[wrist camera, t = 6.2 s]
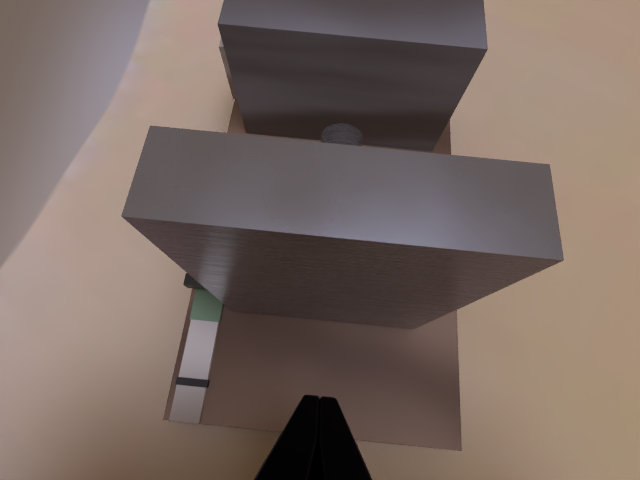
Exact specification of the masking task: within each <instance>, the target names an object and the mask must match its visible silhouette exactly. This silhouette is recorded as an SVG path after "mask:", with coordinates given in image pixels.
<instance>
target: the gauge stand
mask: <svg viewBox="0 0 640 480" xmlns="http://www.w3.org/2000/svg"><path fill="white" fill-rule="evenodd" d="M218 27H219V30H220V34H221V41H220V45H219V49H220V52H221V56H222V60H223V63H224V67H225V71H226V74H227V78H228V82H229V85H230V89H231V93H232V96H233V99H235V101H234V106H233V110H232V115H231V119H230V123H229V128H228V132H227V133H231V134H241V135H251V136H262V137H272V138H282V139H292V140H303V141H313V142H321V134H322V131H323V130H324V129H325V128H326V127H327V126H329V125H332V124H337V123H344V124H349V125H352V126H354V127H356V128H357V129H359V130H360V132H361V133H362V146H364V147H375V148H385V149H395V150H406V151H416V152H426V153H436V154H447V155H451V143H450V118H451V116H452V114H453V112H454V110H455V109H456V107H457V105H458V103H459V101H460V99H461V98H462V96H463V94H464V92H465V90H466V88H467V86H468V85H469V83H470V81H471V79H472V77H473V75H474V74H475V72H476V70H477V68H478V66H479V64H480V62H481V61H482V59H483V57H484V55H485V53H486V51H487V50H488V47H487V35H486V24H485V13H484V2H483V0H224V2H223V6H222V10H221V13H220V17H219V21H218ZM304 395H317V396H319V398H321V397H322V396H326V397H334V398H336V399H337V401H338V403H339V405H340V408H341V410H342V412H343V414H344V417H345V419H346V421H347V424H348V426H349V428H350V430H351V433H352V435H353V437H354V439H355V440H362V441H372V442H381V443H391V444H400V445H410V446H420V447H429V448H439V449H448V450H458V451H462V446H461V419H460V391H459V363H458V336H457V310H455V311H453V312H451V313H449V314H446V315H444V316H442V317H440V318H438V319H436V320H433V321H431V322H429V323H427V324H425V325H423V326H420V327H418V328H416V329H406V328H396V327H386V326H376V325H366V324H357V323H347V322H337V321H327V320H317V319H307V318H297V317H288V316H278V315H268V314H258V313H248V312H238V311H231V310H230V309H229V308H228V307H227V306H225V305H224V304H223V303H222V302H221V301H220V300H218V299H217V298H216V297H215V296H214V295H213V294H211V293H210V292H209V291H208V290H204V289H194V288H193V289H192V293H191V298H190V302H189V306H188V311H187V315H186V320H185V324H184V329H183V333H182V338H181V342H180V347H179V351H178V356H177V360H176V365H175V369H174V373H173V378H172V382H171V387H170V391H169V396H168V400H167V405H166V409H165V414H164V418H163V420H169V421H173V422H182V423H192V424H209V425H218V426H228V427H237V428H247V429H257V430H266V431H276V432H282V431H283V429H284V428H285V426H286V424H287V423H288V421H289V419H290V417H291V416H292V414H293V412H294V411H295V409H296V407H297V406H298V404H299V402H300V400H301V399H302V397H303V396H304Z"/></svg>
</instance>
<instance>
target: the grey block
mask: <svg viewBox="0 0 640 480" xmlns="http://www.w3.org/2000/svg"><path fill="white" fill-rule="evenodd" d="M122 217H123V218H124V219H125V220H126V221H127V222H129V223H130V224H131V225H132V226H133V227H134V228H136V229H137V230H138V231H139V232H140V233H141V234H143V235H144V236H145V237H146V238H147V239H148V240H150V241H151V242H152V243H153V244H154V245H155V246H157V247H158V248H159V249H160V250H161V251H162V252H164V253H165V254H166V255H167V256H168V257H169V258H171V259H172V260H173V261H174V262H175V263H176V264H178V265H179V266H180V267H181V268H182V269H183V270H185V271H186V272H187V273H186V276H185V280H184V284H183V285H185V286H186V287H187V288H194V289H204V290H208V291H209V292H210V293H211V294H213V295H214V296H215V297H216V298H217V299H218V300H220V301H221V302H222V303H223V304H224V305H225V306H227V307H228V308H229V309H230V310H231V311H238V312H248V313H258V314H268V315H278V316H288V317H297V318H307V319H317V320H327V321H337V322H347V323H357V324H366V325H376V326H386V327H396V328H406V329H416V328H418V327H420V326H423V325H425V324H427V323H429V322H431V321H433V320H436V319H438V318H440V317H442V316H444V315H446V314H449V313H451V312H453V311H455V310H457V309H459V308H462V307H464V306H466V305H468V304H470V303H472V302H475V301H477V300H479V299H481V298H483V297H485V296H488V295H490V294H492V293H494V292H496V291H498V290H501V289H503V288H505V287H507V286H509V285H511V284H514V283H516V282H518V281H520V280H522V279H524V278H527V277H529V276H531V275H533V274H535V273H537V272H540V271H542V270H544V269H546V268H548V267H550V266H553V265H555V264H557V263H559V262H561V261H563V260H564V258H563V251H562V245H561V238H560V231H559V224H558V217H557V211H556V204H555V197H554V190H553V183H552V177H551V170H550V165H549V164H539V163H529V162H519V161H508V160H498V159H488V158H477V157H467V156H457V155H447V154H436V153H426V152H416V151H406V150H395V149H385V148H375V147H364V146H362V133H361V132H360V130H359V129H357V128H356V127H354V126H352V125H349V124H344V123H337V124H332V125H329V126H327V127H326V128H325V129H324V130H323V131H322V134H321V142H313V141H303V140H292V139H282V138H272V137H262V136H251V135H241V134H231V133H221V132H210V131H200V130H190V129H179V128H169V127H159V126H150V128H149V131H148V134H147V137H146V140H145V143H144V146H143V150H142V153H141V156H140V159H139V162H138V165H137V169H136V172H135V175H134V178H133V181H132V184H131V187H130V191H129V194H128V197H127V200H126V203H125V206H124V210H123V213H122Z"/></svg>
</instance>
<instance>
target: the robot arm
mask: <svg viewBox="0 0 640 480" xmlns="http://www.w3.org/2000/svg"><path fill="white" fill-rule="evenodd" d="M254 480H372V478H371V476H370V474H369V471H368V469H367V467H366V464H365V462H364V460H363V458H362V455H361V453H360V451H359V449H358V446H357V444H356V442H355V439H354V437H353V435H352V433H351V430H350V428H349V426H348V424H347V421H346V419H345V417H344V414H343V412H342V410H341V408H340V405H339V403H338V401H337V399H336V398H334V397H326V396H322V397H321V398H319V396H317V395H304V396H303V397H302V399H301V400H300V402H299V404H298V406H297V407H296V409H295V411H294V412H293V414H292V416H291V417H290V419H289V421H288V423H287V424H286V426H285V428H284V429H283V431H282V433H281V434H280V436H279V438H278V440H277V441H276V443H275V445H274V446H273V448H272V450H271V451H270V453H269V455H268V456H267V458H266V460H265V462H264V463H263V465H262V467H261V468H260V470H259V472H258V473H257V475H256V477H255V479H254Z"/></svg>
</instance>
